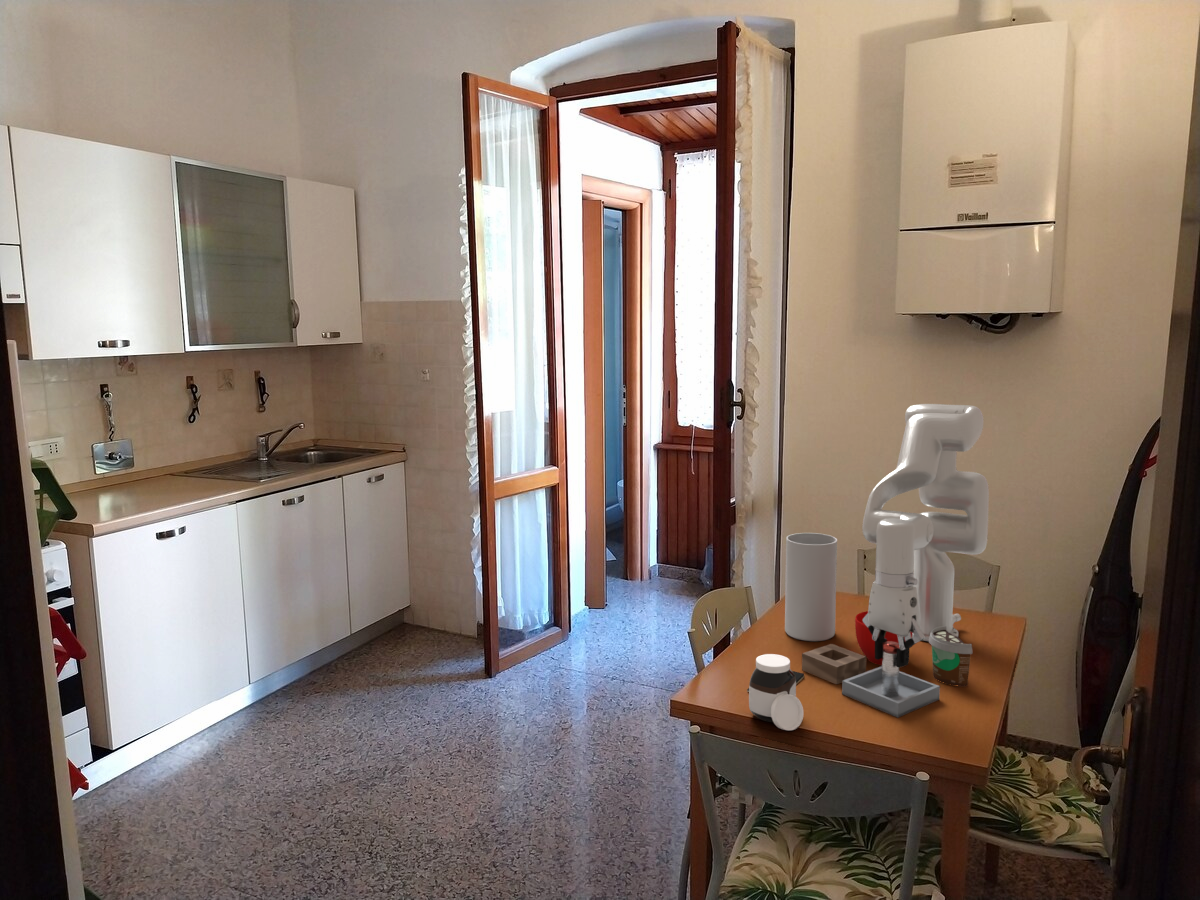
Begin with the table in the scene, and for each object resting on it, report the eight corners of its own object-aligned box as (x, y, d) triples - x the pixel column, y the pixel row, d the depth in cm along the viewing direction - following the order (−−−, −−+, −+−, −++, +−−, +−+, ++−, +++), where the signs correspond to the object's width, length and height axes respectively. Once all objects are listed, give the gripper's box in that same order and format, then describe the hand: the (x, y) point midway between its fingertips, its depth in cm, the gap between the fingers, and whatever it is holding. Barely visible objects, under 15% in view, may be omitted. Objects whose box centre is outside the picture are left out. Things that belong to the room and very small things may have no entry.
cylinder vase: (784, 640, 215) (785, 543, 212) (785, 623, 227) (786, 531, 224) (835, 644, 212) (837, 546, 209) (834, 626, 224) (836, 533, 221)
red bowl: (929, 655, 204) (930, 614, 203) (895, 675, 193) (897, 633, 191) (878, 641, 213) (879, 603, 212) (843, 660, 202) (844, 619, 200)
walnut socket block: (831, 659, 202) (831, 643, 202) (865, 673, 194) (866, 656, 193) (801, 670, 197) (802, 653, 196) (836, 684, 188) (836, 667, 188)
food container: (917, 668, 197) (919, 626, 195) (943, 666, 197) (945, 625, 196) (943, 690, 184) (945, 646, 183) (970, 689, 185) (972, 644, 183)
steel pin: (888, 689, 184) (889, 640, 183) (901, 694, 181) (903, 644, 180) (878, 693, 182) (879, 643, 181) (891, 698, 179) (893, 648, 178)
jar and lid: (767, 701, 181) (768, 648, 179) (817, 716, 173) (818, 661, 172) (738, 721, 172) (738, 666, 170) (789, 738, 164) (790, 680, 163)
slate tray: (883, 678, 191) (883, 665, 191) (939, 699, 180) (939, 686, 180) (842, 694, 183) (842, 680, 183) (897, 717, 172) (898, 703, 172)
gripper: (941, 584, 173) (937, 670, 176) (871, 566, 187) (869, 646, 190) (918, 591, 169) (915, 679, 172) (849, 572, 183) (847, 654, 185)
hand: (891, 661), depth 181 cm, fingers open, 4 cm apart
